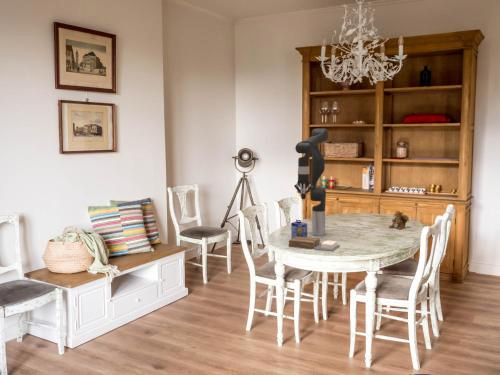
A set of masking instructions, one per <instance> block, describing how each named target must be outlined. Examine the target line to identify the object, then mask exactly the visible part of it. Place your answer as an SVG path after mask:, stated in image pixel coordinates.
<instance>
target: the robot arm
mask: <svg viewBox="0 0 500 375" xmlns="http://www.w3.org/2000/svg"><path fill="white" fill-rule="evenodd" d="M329 137H330V136H329V131H328V129H326V128H313V129H312V132H311V136H310V137H308V138H306V139H305V140H302V141H299V142H298V143H297V144H296V145H295V148H294V149H295V152H296V153H297V154H304V156H301V157H298V162H297V164H298V167H297V182H296V184H294V188H295V190H296V191H297V193H299V194H300V198H301V199H302V200H306V199H307V194H308V193H309V200H310V201H311V202H319V204H316V205H313V206H312V208H311V235H312V236H321V237H322V236H326V200H327V199H326V197H327V190H326V188H320V187H317V184H318V181H319V180H320V178H321V176H322V175H323V173H324V172H325V168H326V167H325V164H326V161H325V160H326V159H325V158H324V156H323V154H322V153H321V150H320V148H319V144H322V143H324V142H327V141H328V139H329ZM310 157H311V176H310ZM310 177H311V180H310ZM310 181H311V182H310Z"/></svg>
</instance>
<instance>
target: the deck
mask: <svg viewBox="0 0 500 375" xmlns="http://www.w3.org/2000/svg"><path fill="white" fill-rule="evenodd" d="M320 240H321V239H320V238H319V237H308V236H307V237H300V236H296V237H294V238H292V239H289V240H288V247H289V248H297V247H298V248H299V249H300V248H301V249H307V250H308V249H309V250H314V249H313V248H314V247H316V246H317V245H319V244H320V242H321V241H320Z"/></svg>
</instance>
